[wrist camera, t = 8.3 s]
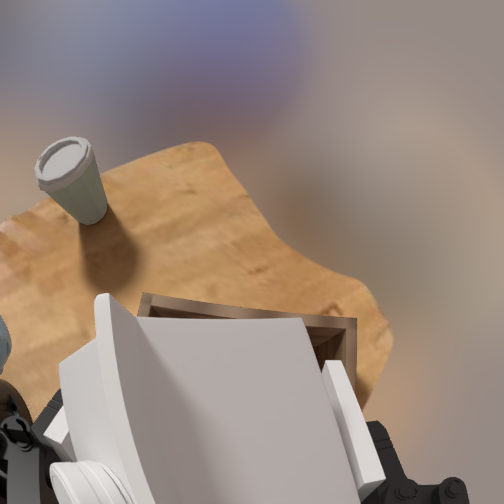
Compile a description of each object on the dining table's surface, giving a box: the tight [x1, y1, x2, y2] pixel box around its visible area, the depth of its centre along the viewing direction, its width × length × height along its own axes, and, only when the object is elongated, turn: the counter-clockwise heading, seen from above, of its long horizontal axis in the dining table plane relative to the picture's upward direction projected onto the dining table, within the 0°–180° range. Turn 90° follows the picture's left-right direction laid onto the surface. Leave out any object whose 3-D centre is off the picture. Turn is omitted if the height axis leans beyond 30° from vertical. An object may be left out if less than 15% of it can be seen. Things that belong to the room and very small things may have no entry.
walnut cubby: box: [137, 292, 357, 394], centre depth 29 cm, size 22×14×11 cm, turn 84°
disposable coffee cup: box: [34, 136, 107, 225], centre depth 38 cm, size 11×11×15 cm
